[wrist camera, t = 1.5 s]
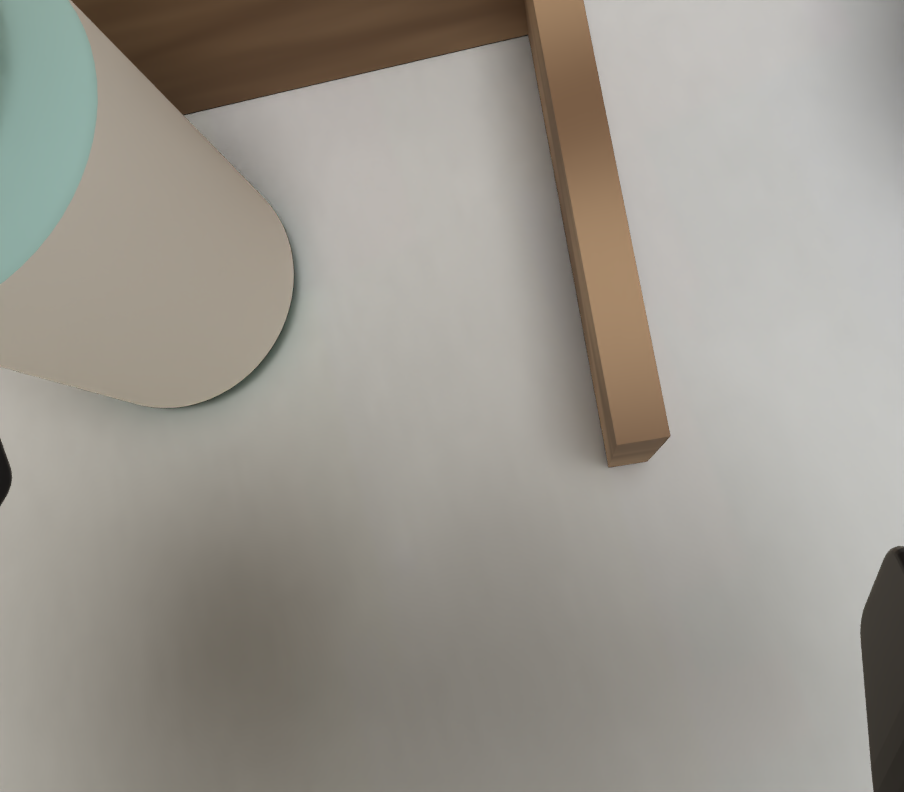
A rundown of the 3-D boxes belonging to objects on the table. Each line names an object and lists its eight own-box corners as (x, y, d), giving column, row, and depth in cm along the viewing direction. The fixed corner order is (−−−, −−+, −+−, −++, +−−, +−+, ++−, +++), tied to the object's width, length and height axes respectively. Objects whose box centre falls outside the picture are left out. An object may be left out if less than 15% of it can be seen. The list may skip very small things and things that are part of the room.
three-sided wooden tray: (647, 461, 22) (670, 436, 16) (-174, 594, 25) (-412, 616, 19) (557, -5, 24) (547, -179, 18) (-181, 170, 27) (-394, 71, 21)
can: (287, 419, 23) (-17, 308, 12) (57, 403, 24) (-430, 288, 13) (314, 178, 24) (61, -148, 13) (93, 174, 25) (-329, -128, 14)
